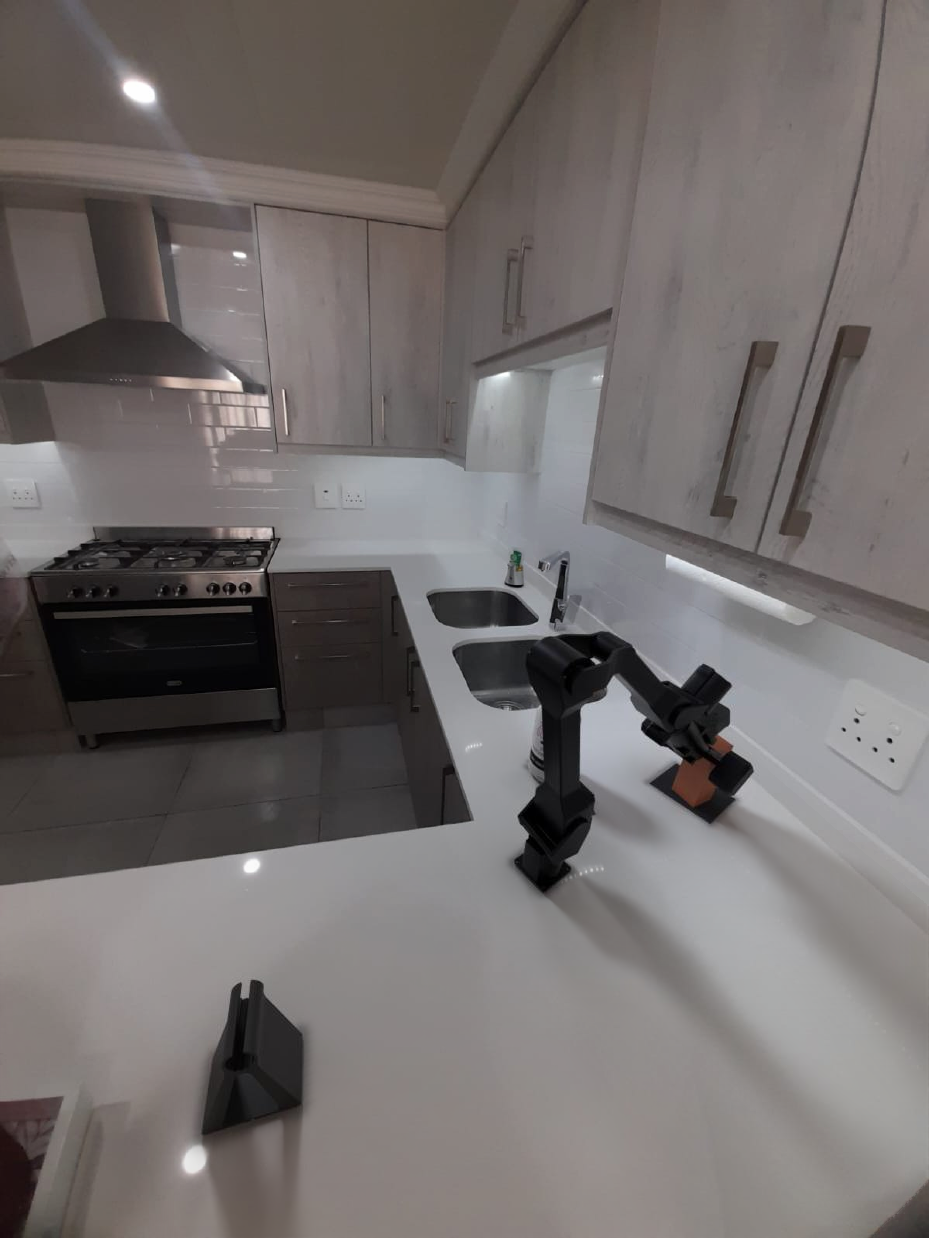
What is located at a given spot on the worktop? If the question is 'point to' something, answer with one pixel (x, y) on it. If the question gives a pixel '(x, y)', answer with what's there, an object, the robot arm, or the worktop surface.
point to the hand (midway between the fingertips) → (705, 763)
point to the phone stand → (253, 1063)
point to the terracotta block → (698, 777)
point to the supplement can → (537, 748)
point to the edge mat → (704, 810)
